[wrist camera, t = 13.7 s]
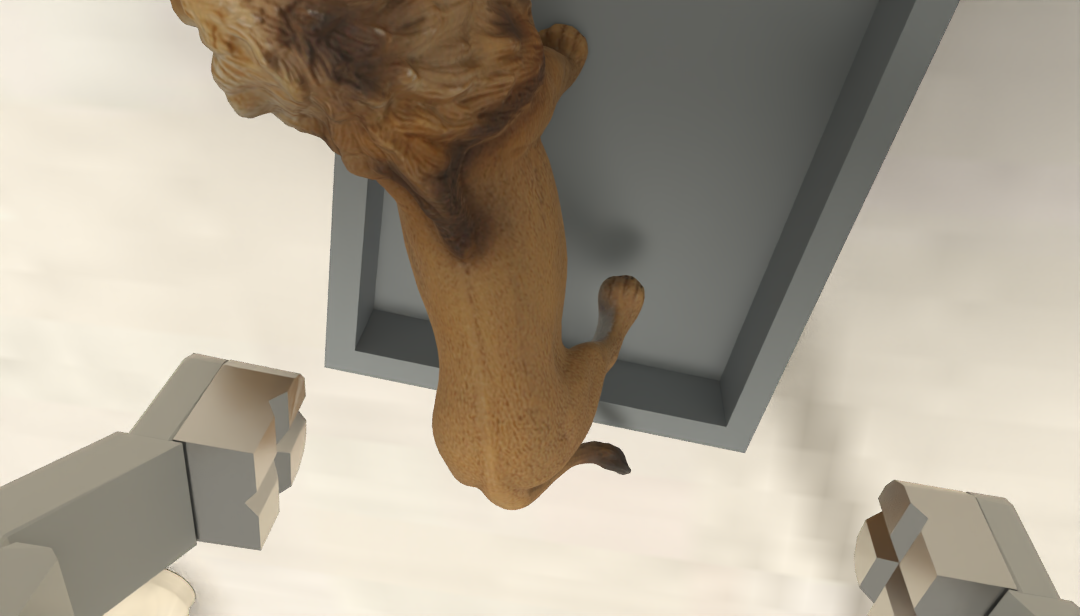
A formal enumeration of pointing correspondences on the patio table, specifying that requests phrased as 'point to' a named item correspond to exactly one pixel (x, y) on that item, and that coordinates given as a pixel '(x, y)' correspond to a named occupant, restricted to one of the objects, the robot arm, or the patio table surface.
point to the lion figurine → (451, 201)
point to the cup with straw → (158, 598)
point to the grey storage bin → (677, 197)
